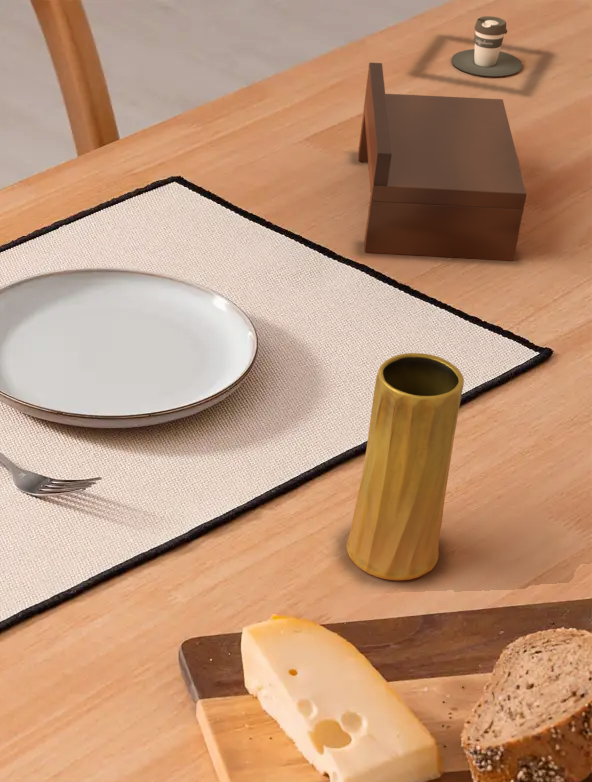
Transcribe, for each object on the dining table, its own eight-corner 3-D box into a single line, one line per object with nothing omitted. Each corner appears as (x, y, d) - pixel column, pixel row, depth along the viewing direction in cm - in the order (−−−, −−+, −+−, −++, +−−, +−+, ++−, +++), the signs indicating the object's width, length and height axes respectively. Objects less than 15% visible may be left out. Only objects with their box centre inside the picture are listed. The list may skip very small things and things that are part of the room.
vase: (330, 560, 104) (354, 382, 95) (370, 514, 108) (396, 338, 99) (414, 594, 101) (447, 413, 93) (452, 544, 105) (486, 367, 97)
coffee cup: (549, 54, 174) (557, 10, 171) (526, 93, 165) (535, 48, 162) (443, 36, 178) (450, -7, 175) (416, 74, 169) (422, 29, 166)
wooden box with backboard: (491, 162, 152) (508, 68, 146) (513, 261, 137) (533, 161, 131) (357, 155, 153) (369, 62, 147) (364, 252, 138) (377, 153, 132)
